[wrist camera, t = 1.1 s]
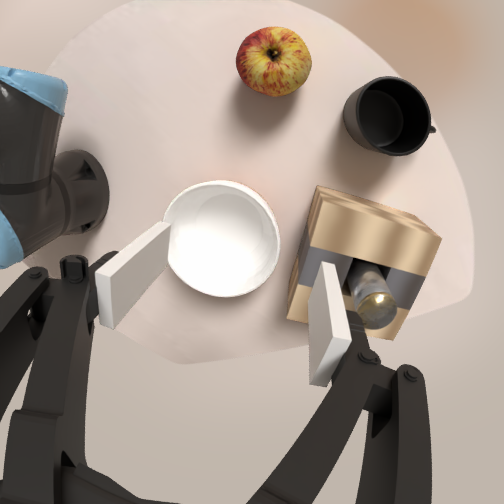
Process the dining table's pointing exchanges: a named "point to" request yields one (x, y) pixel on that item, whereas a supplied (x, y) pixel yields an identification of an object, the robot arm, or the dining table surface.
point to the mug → (388, 116)
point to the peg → (371, 295)
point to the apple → (273, 61)
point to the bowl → (222, 238)
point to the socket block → (362, 252)
